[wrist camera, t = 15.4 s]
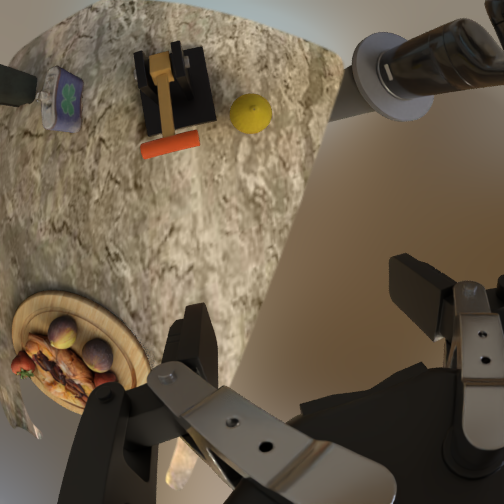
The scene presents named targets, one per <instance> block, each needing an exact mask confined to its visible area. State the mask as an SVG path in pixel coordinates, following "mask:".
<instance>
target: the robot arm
mask: <svg viewBox="0 0 504 504" xmlns="http://www.w3.org/2000/svg"><path fill="white" fill-rule="evenodd" d="M485 8H486V11H487V14H488V16H489V19H490V21H491V23H492V25H493V27H494V29H495V31H496V34H497V36H498V38H499V41H500V43H501V45H502V48H503V50H504V0H485ZM503 50H502V49H501V48H500V47H499V46H498V44H497V43H496V42H495V40H494V39H493V38H492V36H491V35H490V34H489V33H488V32H487V31H486V30H485V29H484V28H483V27H482V26H481V25H479V24H478V23H476V22H475V21H473V20H470V19H467V18H462V19H457V20H454V21H452V22H449V23H447V24H444V25H442V26H440V27H437V28H435V29H433V30H430V31H429V32H426V33H423V34H421V35H419V36H417V37H415V38H412V39H410V40H408V41H406V42H404V43H402V44H400V45H398V46H396V47H393V48H391V49H388V50H386V51H384V52H382V53H381V54H380V55H379V57H378V59H377V62H376V72H377V76H378V79H379V81H380V83H381V85H382V86H383V88H384V89H385V90H386V91H387V92H388V93H389V94H390V95H391V96H393V97H394V98H396V99H399V100H403V101H407V100H412V99H415V98H420V97H426V96H431V95H437V94H442V93H449V92H456V91H462V90H469V89H477V88H485V87H492V86H500V85H504V51H503ZM389 293H390V297H391V299H392V301H393V302H394V303H395V304H396V305H397V306H398V307H399V308H400V309H401V310H402V311H403V312H404V313H405V314H406V315H407V316H408V317H409V318H410V319H411V320H412V321H413V322H414V323H415V324H416V325H417V326H418V327H419V328H420V329H421V330H422V331H423V332H424V333H425V334H426V335H427V336H428V337H429V338H430V339H431V340H432V341H433V342H435V341H437V340H440V339H442V338H444V337H445V338H446V339H445V344H444V362H443V368H442V367H441V368H430V369H427V367H426V366H425V365H424V364H423V363H422V362H419V363H417V364H415V365H413V366H410V367H408V368H405V369H403V370H401V371H398V372H396V373H394V374H393V375H391V376H390V377H388V378H387V379H385V380H384V381H383V382H381V383H379V384H377V385H376V386H374V387H373V388H371V389H369V390H365V391H358V392H352V393H343V394H336V395H330V396H327V397H323V398H320V399H317V400H313V401H309V402H306V403H302V404H300V410H301V414H300V415H297V416H295V417H294V418H292V419H291V420H289V421H288V422H286V423H284V422H282V421H281V420H279V419H277V418H276V417H274V416H273V415H271V414H269V413H268V412H266V411H265V410H263V409H261V408H260V407H258V406H256V405H255V404H253V403H252V402H250V401H249V400H247V399H246V398H244V397H243V396H241V395H240V394H238V393H237V392H235V391H234V390H232V389H231V388H229V387H227V386H222V387H220V388H219V389H218V346H217V340H216V336H215V332H214V329H213V326H212V323H211V320H210V317H209V314H208V311H207V308H206V305H205V303H204V302H203V303H198V304H193V305H188V306H186V309H185V314H184V319H179V320H176V321H175V322H174V323H173V325H172V326H171V327H170V329H169V333H168V337H167V341H166V343H167V344H166V345H165V350H164V354H163V358H162V362H161V364H160V365H158V366H156V367H155V368H153V369H152V370H151V371H150V373H149V374H148V376H147V383H145V384H143V385H141V386H138V387H135V388H132V389H129V390H125V389H124V387H123V386H122V385H121V384H120V383H118V382H106V383H103V384H101V385H99V386H97V387H96V388H95V389H94V390H93V391H92V392H91V393H90V394H89V397H88V399H87V402H86V405H85V408H84V411H83V414H82V417H81V420H80V423H79V426H78V429H77V432H76V435H75V438H74V442H73V445H72V448H71V452H70V455H69V459H68V462H67V466H66V470H65V473H64V477H63V481H62V485H61V490H60V494H59V498H58V503H57V504H156V484H157V460H158V445H159V443H162V442H165V441H168V440H171V439H174V438H177V437H179V436H180V438H181V439H182V440H183V441H184V442H185V443H186V444H187V445H188V446H189V447H190V448H191V449H192V450H193V451H194V452H195V453H196V454H197V455H198V456H199V457H200V458H201V459H202V460H203V461H204V462H205V463H207V464H208V465H209V466H210V467H211V468H212V469H213V471H214V472H215V473H216V474H217V475H218V476H219V477H220V478H221V479H222V480H223V481H224V482H225V483H226V484H227V485H228V486H229V487H230V488H232V489H233V492H232V493H231V494H230V496H229V497H228V499H227V500H226V501H225V502H224V503H223V504H504V275H501V276H500V277H499V278H498V283H497V288H493V289H488V290H485V288H484V286H482V285H481V284H479V283H477V282H474V281H461V282H458V283H457V282H455V281H454V280H453V279H451V278H450V277H448V276H447V275H445V274H444V273H441V272H440V271H439V270H437V269H435V268H434V267H433V266H431V265H429V264H428V263H425V262H421V261H418V260H417V259H415V258H414V257H412V256H410V255H409V254H407V253H403V254H400V255H396V256H393V257H391V258H390V259H389Z"/></svg>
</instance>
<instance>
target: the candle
mask: <svg viewBox="0 0 504 504" xmlns="http://www.w3.org/2000/svg"><path fill="white" fill-rule="evenodd" d="M36 86H37V78H36V76H33V75H30V74H28V73H25V72H22V71H19V70H16V69H13V68H10V67H7V66H4V65H1V64H0V105H7V106H13V107H19V106H20V105H23V104H26V103H29V104H30V103H32V102H33V101H34V99H35V95H36Z"/></svg>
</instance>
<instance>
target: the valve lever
mask: <svg viewBox="0 0 504 504" xmlns="http://www.w3.org/2000/svg"><path fill="white" fill-rule="evenodd" d="M149 67H150V75H151V77H152V79H153V82H154V84H155V85H157V87H158V98H159V108H160V118H161V127H162V136H163V138H160V139H156V140H153V141H149V142H146V143H142V144H141V146H140V148H141V154H142V157H143V158H144V159H148V158H152V157H156V156H159V155H163V154H167V153H171V152H175V151H179V150H183V149H187V148H191V147H196V146H200V140H199V135H198V131H197V130H192V131H188V132H184V133H180V134H176V135H175V128H174V121H173V113H172V105H171V97H170V89H169V82H171V81H174V72H173V64H172V60H171V57H170V54H169V51H166V52H162V53H158V54H155V55H151V56H149Z"/></svg>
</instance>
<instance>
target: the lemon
mask: <svg viewBox="0 0 504 504" xmlns="http://www.w3.org/2000/svg"><path fill="white" fill-rule="evenodd" d="M271 117H272V109H271V106H270V104H269V102H268V101H267V100H266V99H265V98H264V97H262V96H260V95H258V94H245V95H242V96H240V97H238V98H237V99H236V100H235V101H234V102H233V104H232V106H231V108H230V120H231V122H232V124H233V126H234V127H235V128H236V129H237V130H239V131H241V132H243V133H246V134H254V133H258V132H260V131H262V130H263V129H265V128H266V127H267V126H268V124H269V123H270V120H271Z"/></svg>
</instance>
